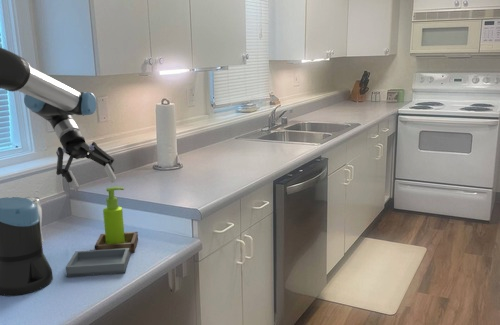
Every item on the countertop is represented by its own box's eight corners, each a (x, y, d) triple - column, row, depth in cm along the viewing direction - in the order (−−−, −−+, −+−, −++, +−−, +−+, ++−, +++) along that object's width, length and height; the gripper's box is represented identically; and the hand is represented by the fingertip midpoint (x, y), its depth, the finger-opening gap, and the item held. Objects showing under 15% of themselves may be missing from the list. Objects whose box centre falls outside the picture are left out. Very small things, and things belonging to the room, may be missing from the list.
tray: (66, 277, 138) (65, 267, 137) (76, 260, 150) (75, 251, 149) (124, 273, 140) (124, 263, 139) (129, 257, 151) (129, 247, 151)
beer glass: (24, 240, 168) (19, 197, 165) (46, 237, 170) (41, 195, 167) (21, 247, 162) (16, 203, 159) (44, 244, 164) (39, 201, 161)
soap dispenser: (129, 248, 158) (125, 188, 154) (107, 252, 156) (102, 191, 152) (127, 242, 163) (122, 184, 159) (105, 246, 161) (100, 186, 157)
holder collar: (95, 255, 153) (94, 246, 153) (101, 242, 164) (100, 234, 164) (134, 252, 155) (133, 243, 154) (138, 240, 166) (137, 231, 165)
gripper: (99, 138, 181) (124, 183, 174) (31, 147, 163) (57, 199, 156) (105, 124, 176) (132, 171, 169) (36, 133, 159) (63, 185, 152)
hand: (96, 184), depth 163 cm, fingers open, 13 cm apart
